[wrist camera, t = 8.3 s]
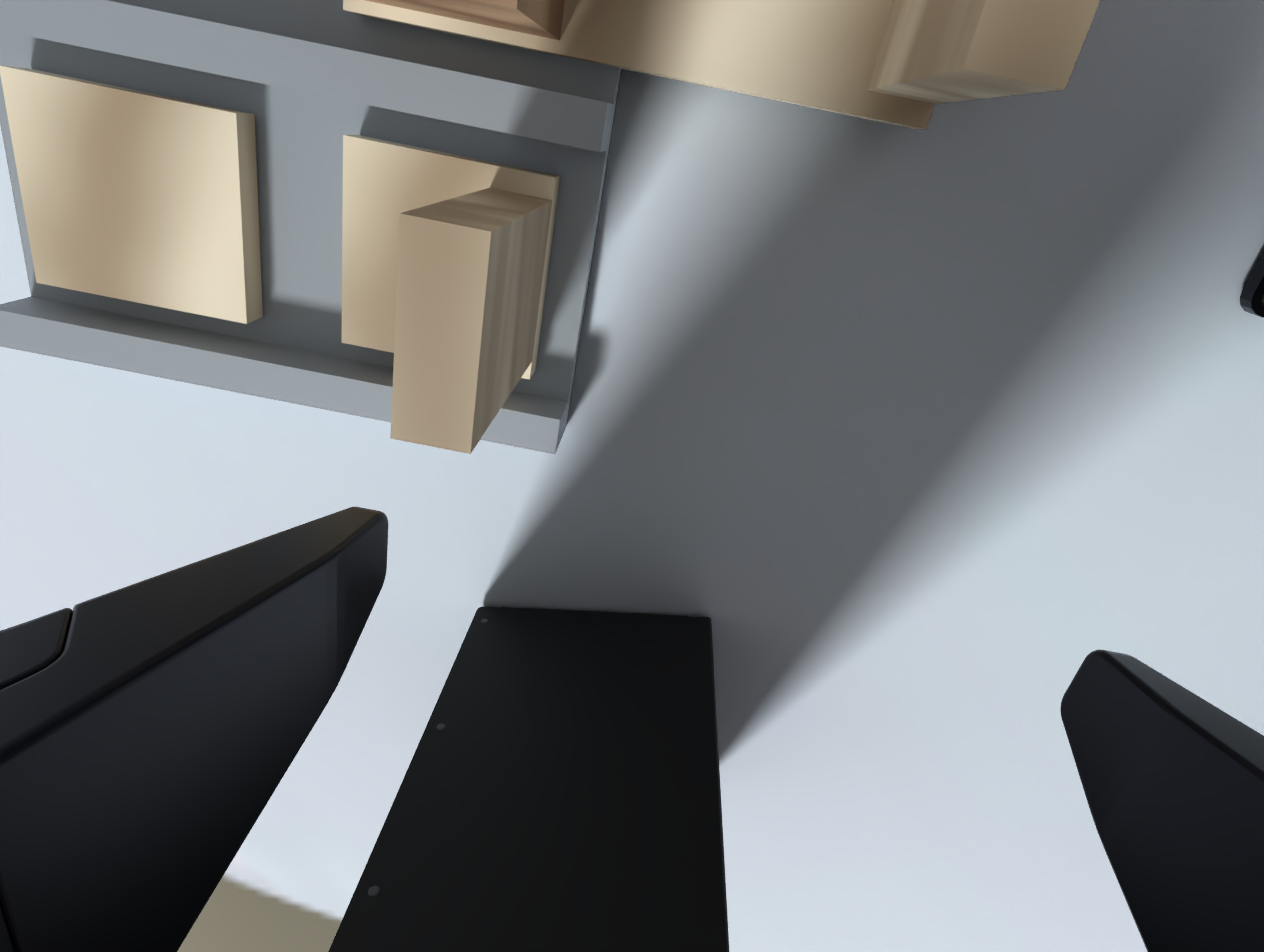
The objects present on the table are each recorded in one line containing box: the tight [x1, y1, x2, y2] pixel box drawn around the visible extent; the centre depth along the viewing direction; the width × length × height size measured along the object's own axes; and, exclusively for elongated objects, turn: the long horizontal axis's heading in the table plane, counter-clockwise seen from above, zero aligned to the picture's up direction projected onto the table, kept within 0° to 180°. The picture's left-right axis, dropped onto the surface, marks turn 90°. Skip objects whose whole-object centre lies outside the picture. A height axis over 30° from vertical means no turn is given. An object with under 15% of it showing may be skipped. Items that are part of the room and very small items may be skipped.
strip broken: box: [0, 66, 560, 454], centre depth 16 cm, size 13×5×7 cm, turn 80°
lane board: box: [0, 0, 621, 454], centre depth 17 cm, size 15×16×2 cm
